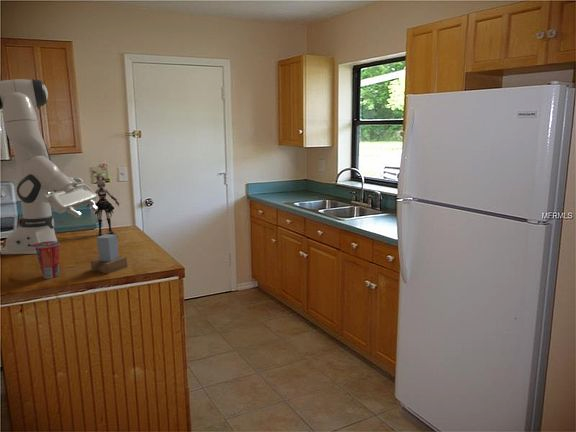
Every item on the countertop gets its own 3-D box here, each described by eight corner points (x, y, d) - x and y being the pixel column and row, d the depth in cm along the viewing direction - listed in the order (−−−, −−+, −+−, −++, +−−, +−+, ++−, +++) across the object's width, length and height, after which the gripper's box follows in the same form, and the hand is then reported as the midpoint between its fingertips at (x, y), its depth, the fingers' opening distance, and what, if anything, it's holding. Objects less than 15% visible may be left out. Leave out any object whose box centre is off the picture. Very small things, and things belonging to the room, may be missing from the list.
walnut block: (91, 271, 178) (90, 260, 178) (110, 264, 186) (109, 254, 185) (108, 274, 174) (107, 264, 173) (127, 267, 182) (126, 257, 181)
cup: (58, 270, 178) (54, 239, 175) (67, 275, 172) (64, 243, 170) (31, 276, 171) (27, 244, 169) (40, 282, 166) (36, 249, 163)
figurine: (90, 237, 227) (84, 174, 221) (89, 234, 233) (83, 173, 227) (122, 233, 234) (117, 172, 228) (120, 230, 239) (115, 171, 233)
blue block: (99, 260, 178) (96, 237, 176) (107, 257, 182) (105, 234, 180) (110, 261, 176) (108, 238, 174) (118, 257, 181) (116, 234, 179)
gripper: (45, 187, 171) (73, 214, 170) (83, 177, 190) (108, 201, 189) (37, 200, 173) (65, 226, 173) (76, 188, 192) (101, 212, 192)
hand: (88, 213), depth 181 cm, fingers open, 8 cm apart
